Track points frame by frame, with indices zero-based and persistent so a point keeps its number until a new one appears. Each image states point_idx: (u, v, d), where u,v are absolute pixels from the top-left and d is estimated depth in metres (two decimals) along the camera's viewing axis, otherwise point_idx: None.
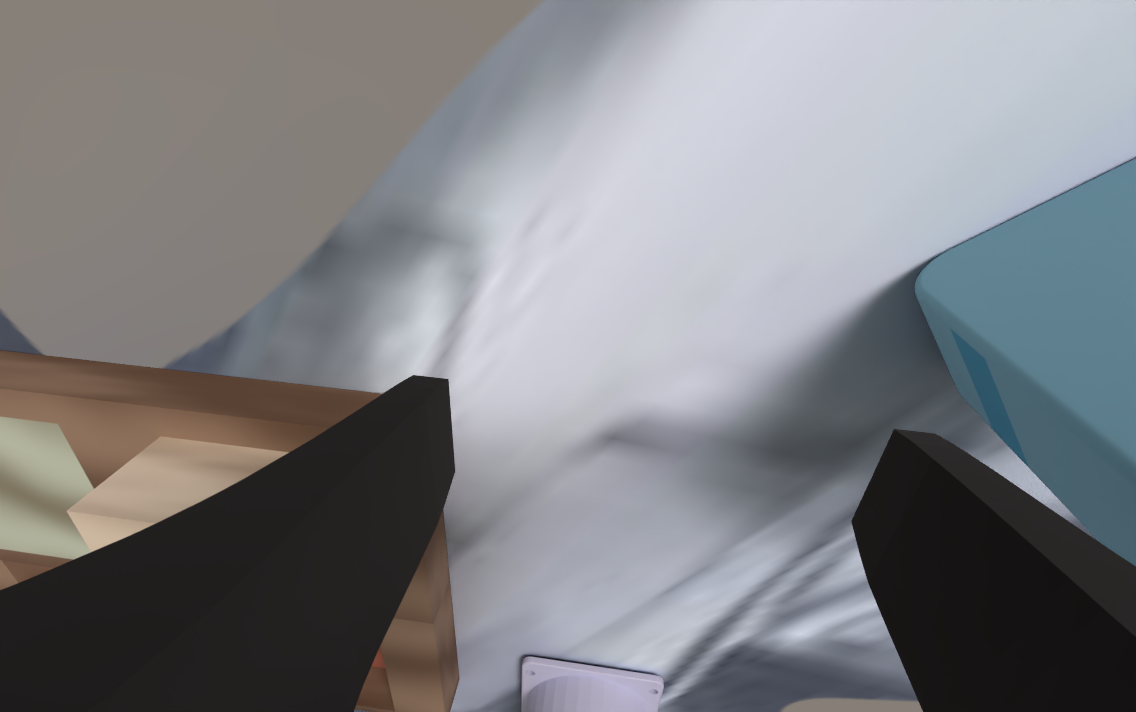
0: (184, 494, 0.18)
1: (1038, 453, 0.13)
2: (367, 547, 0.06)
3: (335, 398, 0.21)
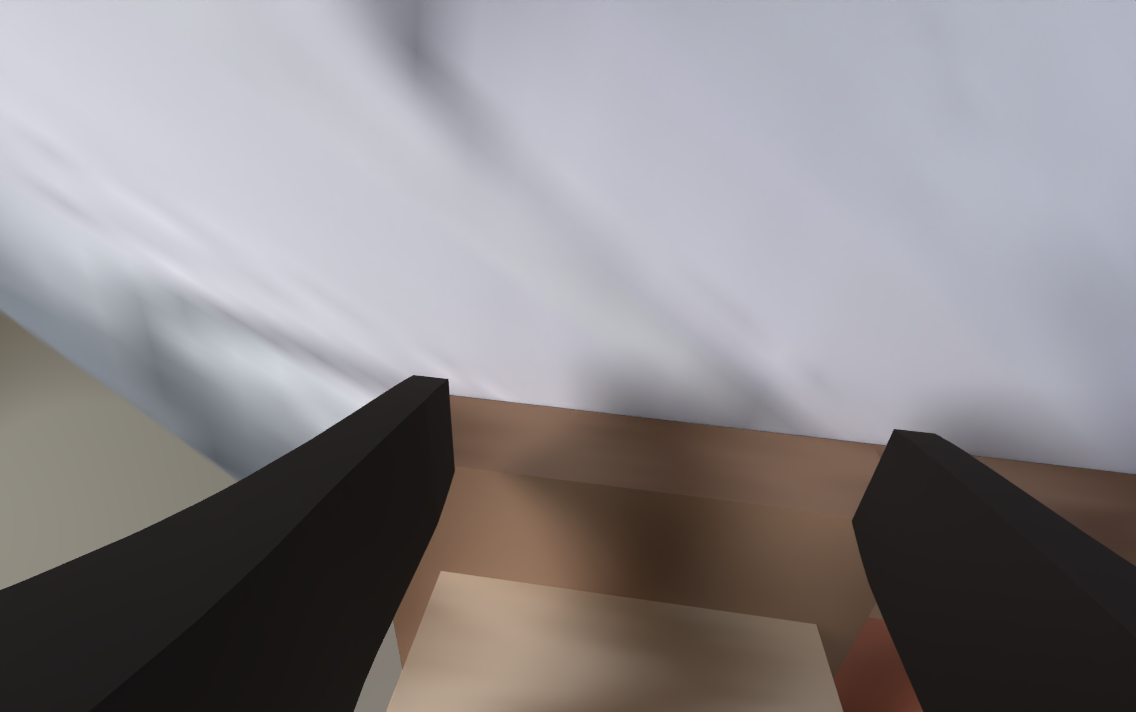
0: None
1: None
2: (367, 547, 0.06)
3: None
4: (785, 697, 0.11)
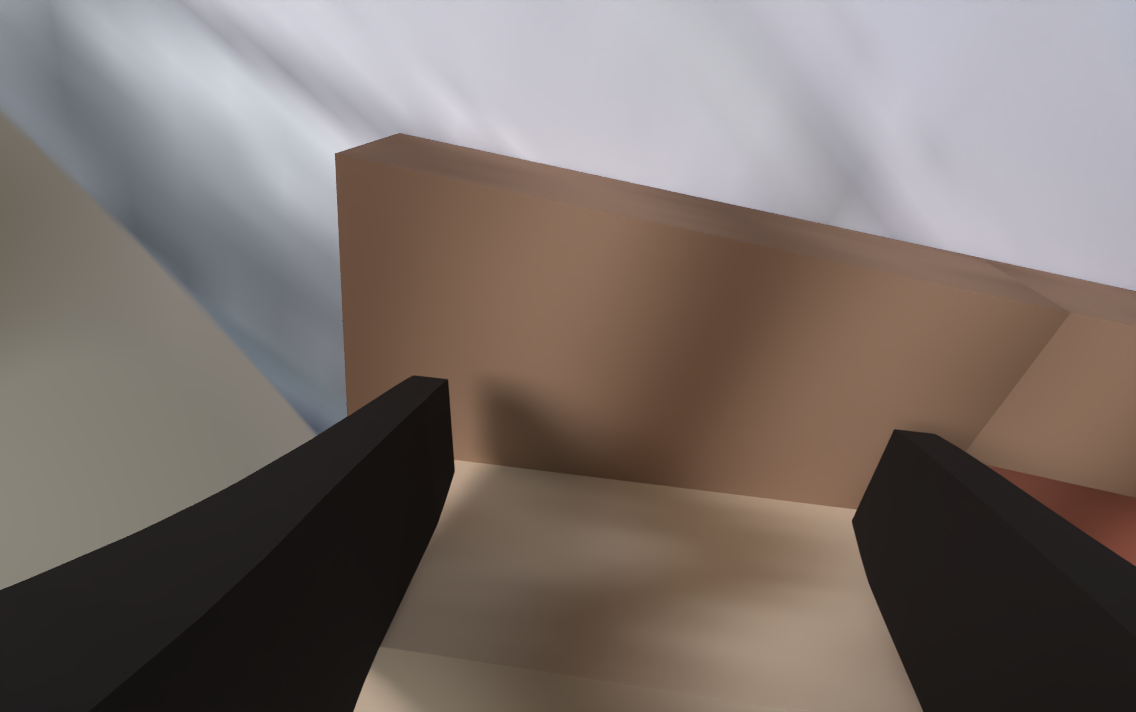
0: None
1: None
2: (367, 547, 0.06)
3: None
4: (829, 579, 0.09)
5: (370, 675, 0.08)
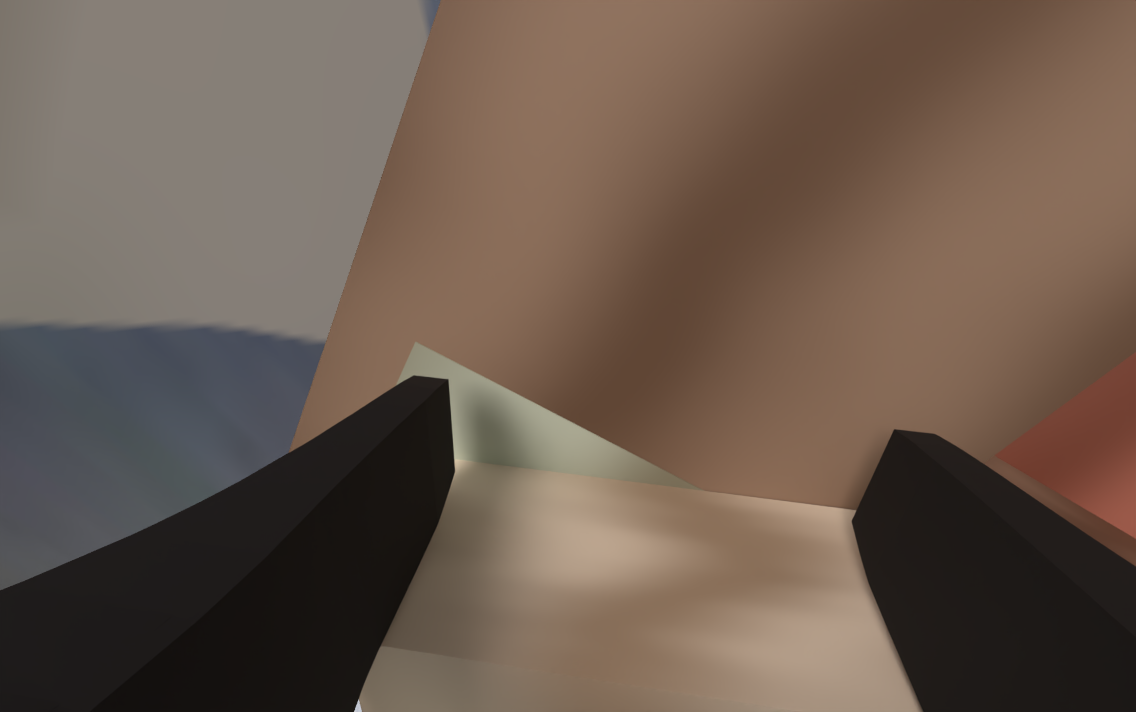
0: None
1: None
2: (368, 547, 0.06)
3: None
4: (855, 583, 0.09)
5: (395, 678, 0.08)
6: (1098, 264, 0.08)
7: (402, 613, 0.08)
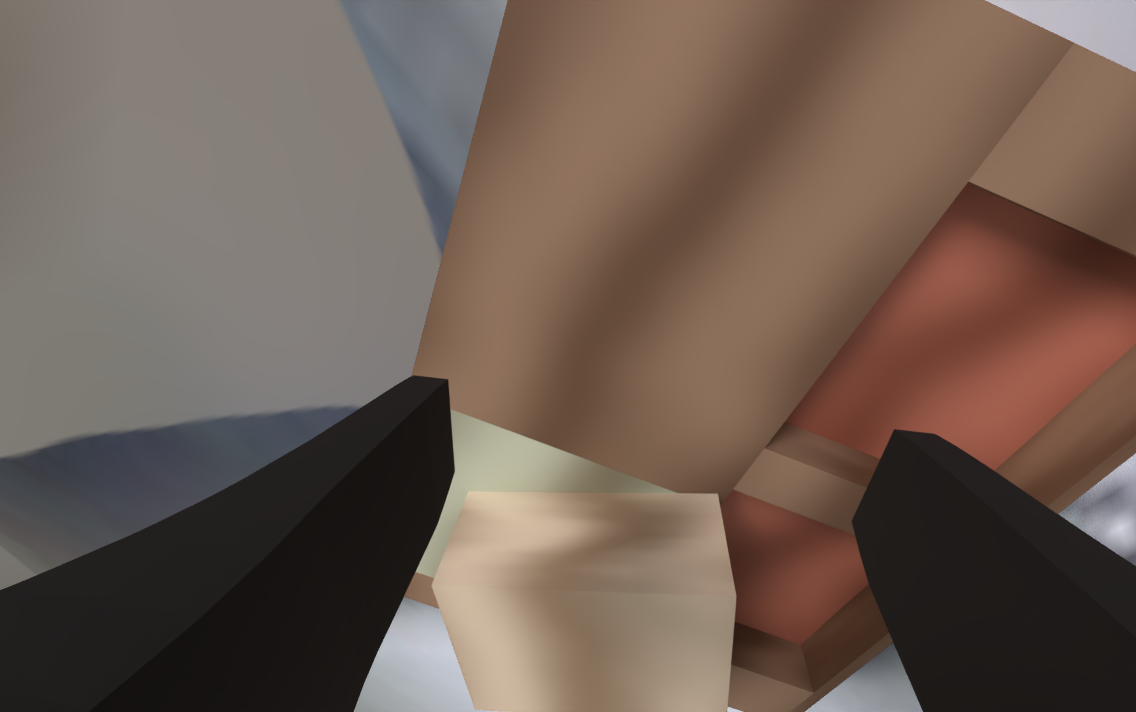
0: None
1: None
2: (367, 547, 0.06)
3: None
4: (689, 533, 0.17)
5: (458, 603, 0.16)
6: (782, 335, 0.15)
7: (457, 571, 0.16)
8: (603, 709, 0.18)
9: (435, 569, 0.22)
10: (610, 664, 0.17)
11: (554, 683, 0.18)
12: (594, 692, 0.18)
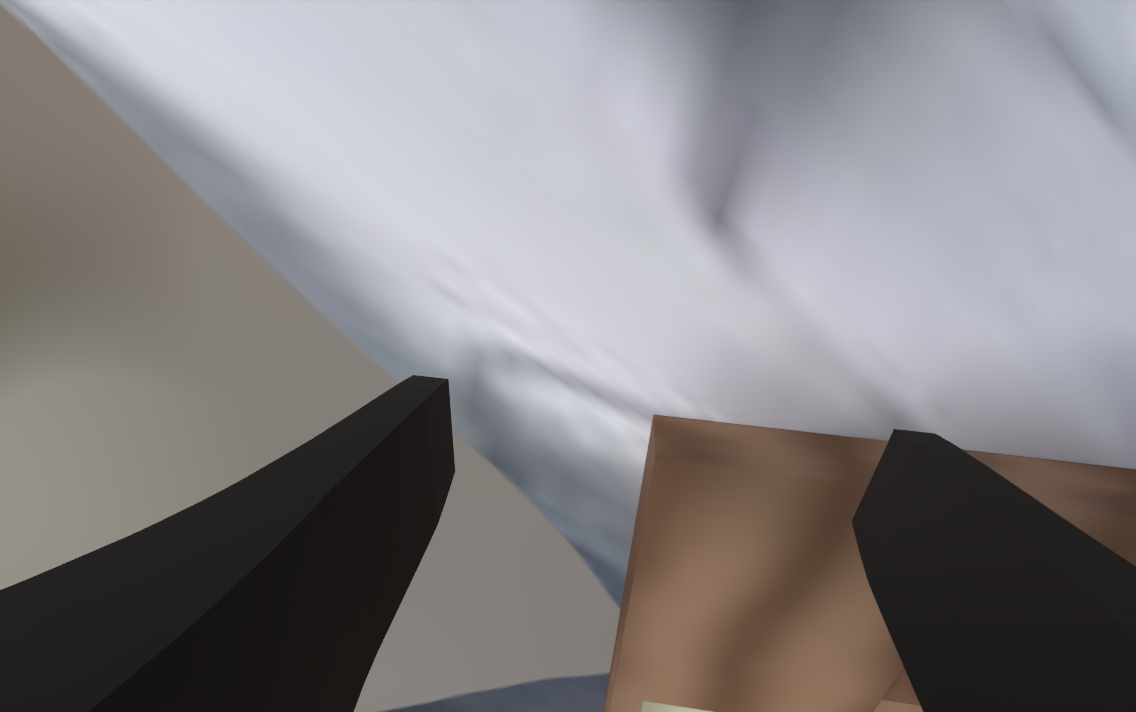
0: None
1: None
2: (367, 547, 0.06)
3: (641, 501, 0.21)
4: None
5: None
6: (871, 643, 0.21)
7: None
8: None
9: None
10: None
11: None
12: None
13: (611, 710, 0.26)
